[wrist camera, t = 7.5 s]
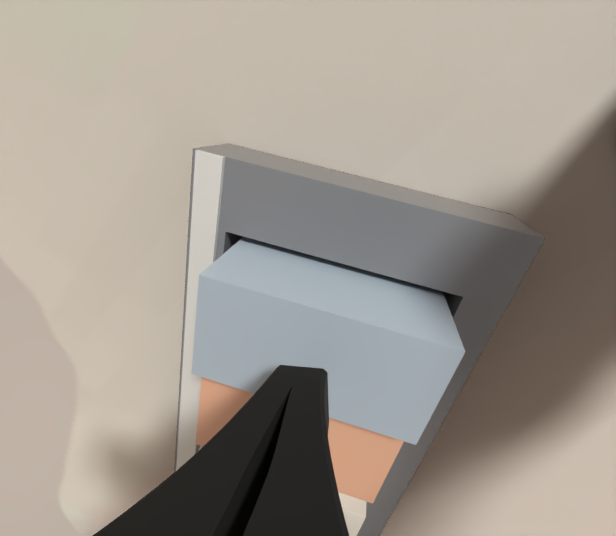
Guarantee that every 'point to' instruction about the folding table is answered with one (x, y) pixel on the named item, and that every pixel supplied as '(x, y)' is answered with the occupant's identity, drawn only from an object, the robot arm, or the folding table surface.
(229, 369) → the slate key
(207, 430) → the terracotta key
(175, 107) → the folding table surface
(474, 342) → the grey shallow tray
